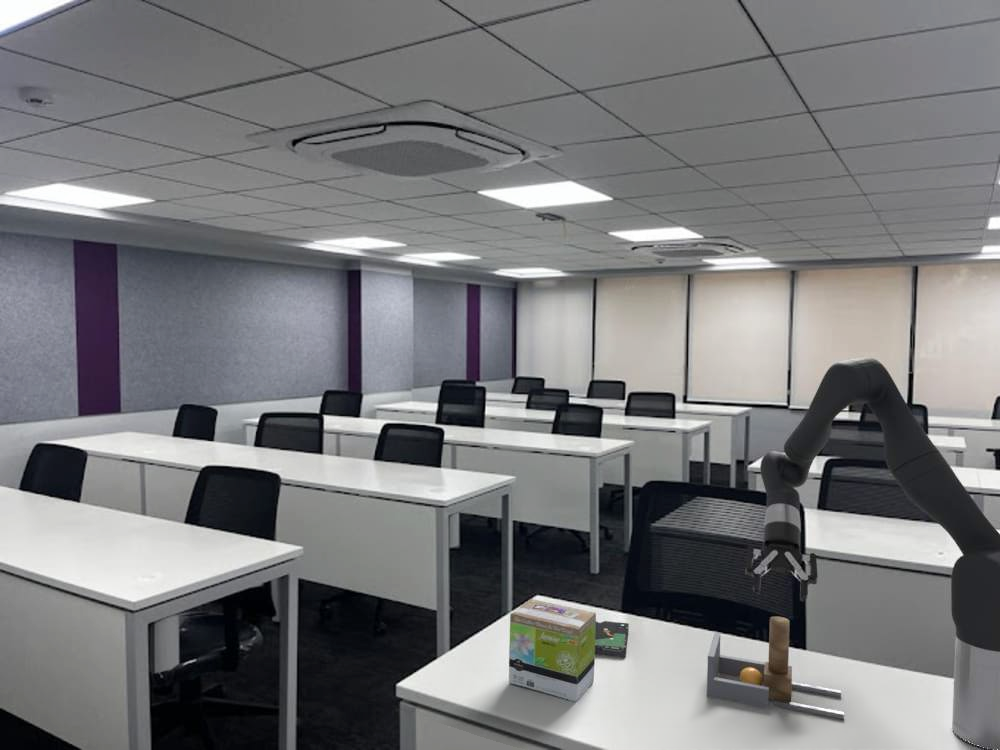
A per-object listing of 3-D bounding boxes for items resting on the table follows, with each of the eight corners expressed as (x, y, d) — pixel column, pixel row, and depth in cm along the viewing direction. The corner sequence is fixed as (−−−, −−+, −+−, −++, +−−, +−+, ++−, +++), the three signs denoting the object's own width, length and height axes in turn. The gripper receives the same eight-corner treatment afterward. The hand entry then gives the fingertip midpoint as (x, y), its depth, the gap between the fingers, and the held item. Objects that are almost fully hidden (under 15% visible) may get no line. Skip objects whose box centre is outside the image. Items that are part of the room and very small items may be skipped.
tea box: (507, 685, 141) (508, 612, 140) (528, 665, 149) (529, 597, 149) (577, 704, 134) (578, 627, 133) (595, 682, 142) (597, 610, 142)
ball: (750, 661, 143) (744, 681, 143) (738, 664, 140) (732, 684, 141) (770, 673, 139) (763, 693, 140) (757, 677, 137) (751, 697, 137)
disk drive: (585, 630, 170) (579, 655, 156) (585, 618, 170) (579, 642, 156) (628, 634, 168) (626, 660, 154) (628, 622, 168) (626, 647, 154)
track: (840, 695, 138) (840, 690, 138) (843, 720, 129) (844, 714, 129) (775, 683, 143) (775, 678, 143) (773, 706, 134) (773, 701, 134)
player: (791, 689, 140) (793, 616, 139) (791, 703, 134) (793, 627, 134) (764, 684, 142) (766, 612, 141) (763, 697, 136) (765, 623, 136)
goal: (770, 680, 144) (771, 641, 144) (767, 708, 133) (769, 666, 133) (713, 669, 149) (714, 632, 148) (706, 696, 137) (707, 655, 137)
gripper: (748, 516, 157) (743, 582, 146) (818, 523, 151) (818, 592, 141) (748, 534, 162) (744, 599, 152) (816, 541, 156) (816, 610, 146)
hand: (779, 596), depth 146 cm, fingers open, 8 cm apart
